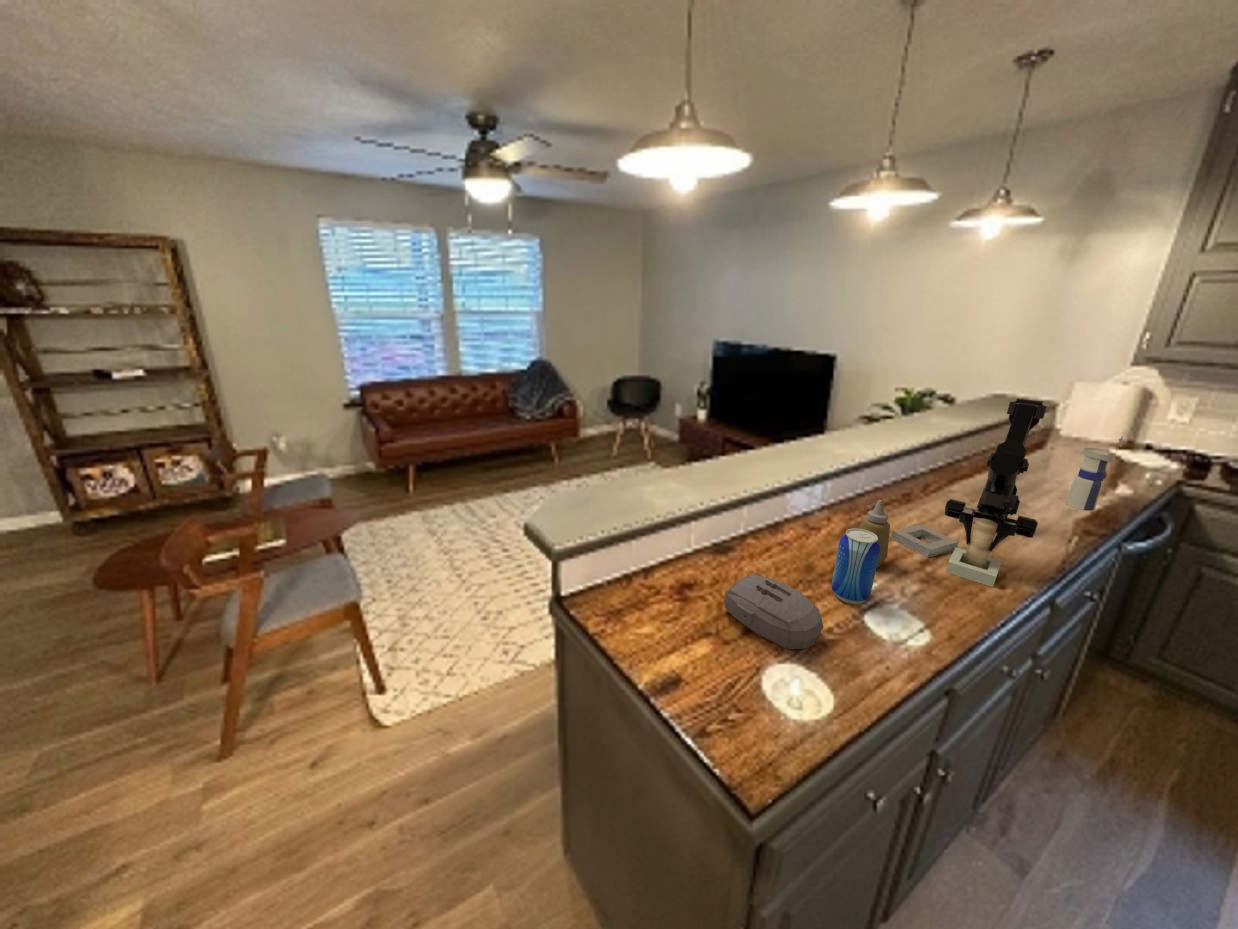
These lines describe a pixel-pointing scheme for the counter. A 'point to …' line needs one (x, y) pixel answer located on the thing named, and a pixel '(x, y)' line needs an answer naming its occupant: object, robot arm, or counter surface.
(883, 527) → the squeeze bottle
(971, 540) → the tan rounded peg
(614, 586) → the counter surface
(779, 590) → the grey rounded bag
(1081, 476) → the water bottle
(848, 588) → the beer can
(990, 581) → the collar
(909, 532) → the socket block
